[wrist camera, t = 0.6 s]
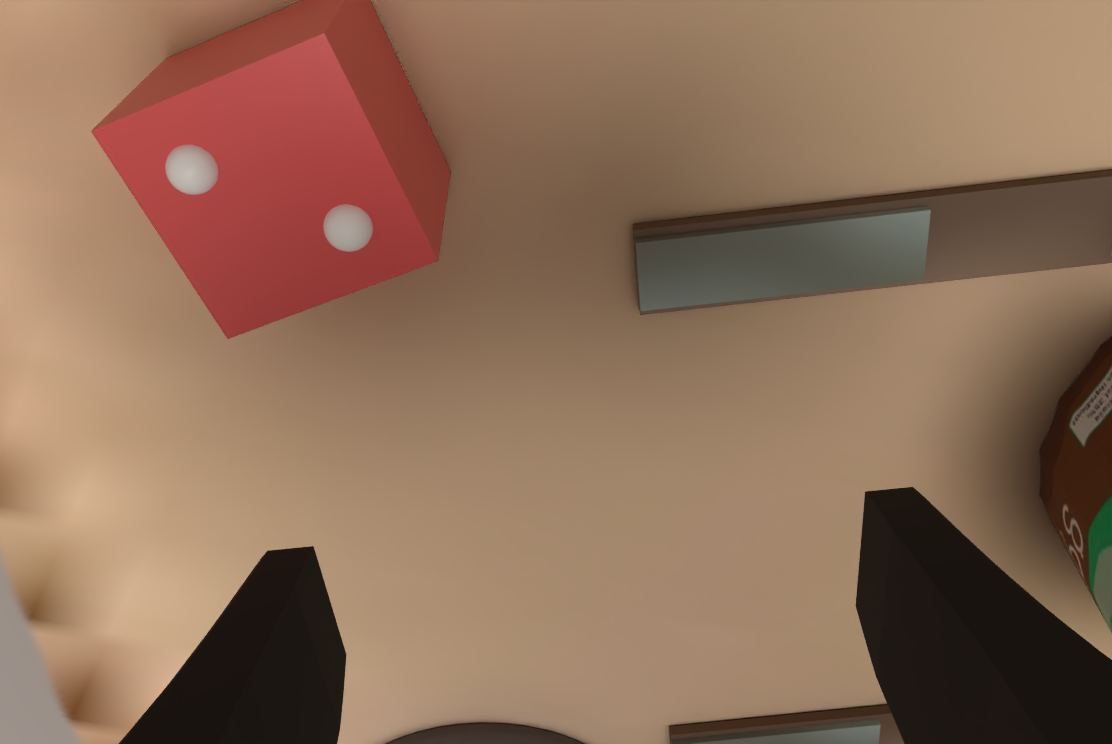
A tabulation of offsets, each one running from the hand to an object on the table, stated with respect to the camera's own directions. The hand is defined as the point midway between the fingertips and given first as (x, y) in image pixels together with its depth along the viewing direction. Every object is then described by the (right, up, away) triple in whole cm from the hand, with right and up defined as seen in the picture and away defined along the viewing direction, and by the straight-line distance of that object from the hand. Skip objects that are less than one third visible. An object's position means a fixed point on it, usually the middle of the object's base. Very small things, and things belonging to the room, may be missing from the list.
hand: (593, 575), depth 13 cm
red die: (-5, +8, +6) cm, 11 cm away
